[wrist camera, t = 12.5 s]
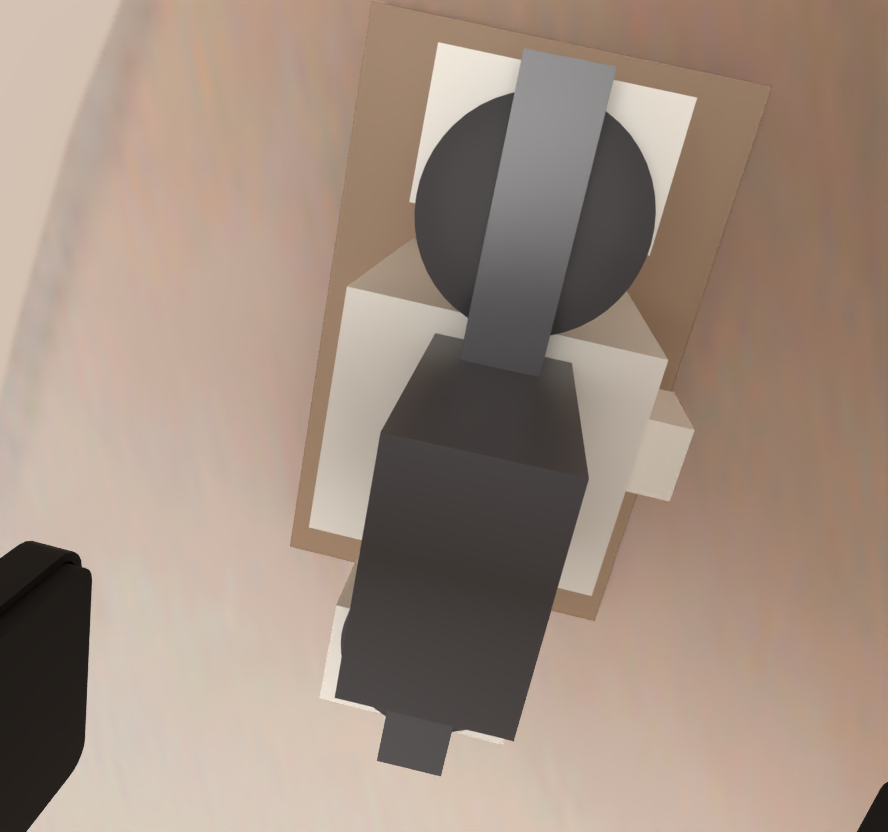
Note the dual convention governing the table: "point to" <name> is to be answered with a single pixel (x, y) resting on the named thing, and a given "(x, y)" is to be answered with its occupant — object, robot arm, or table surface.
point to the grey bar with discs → (492, 409)
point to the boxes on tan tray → (427, 312)
